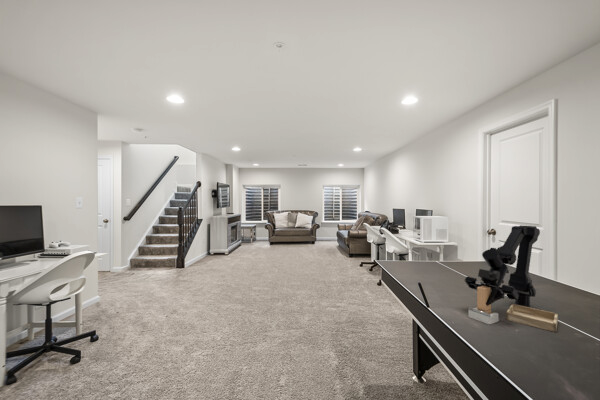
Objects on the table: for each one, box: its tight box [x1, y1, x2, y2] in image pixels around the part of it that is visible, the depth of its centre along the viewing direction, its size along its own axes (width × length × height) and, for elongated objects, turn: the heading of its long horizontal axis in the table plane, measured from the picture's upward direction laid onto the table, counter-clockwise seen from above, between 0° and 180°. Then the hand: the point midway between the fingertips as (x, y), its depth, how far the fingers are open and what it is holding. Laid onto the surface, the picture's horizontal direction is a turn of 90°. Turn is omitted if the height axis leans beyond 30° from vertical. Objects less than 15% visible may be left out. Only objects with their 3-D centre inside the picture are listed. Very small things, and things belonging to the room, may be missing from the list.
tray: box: [505, 303, 559, 333], centre depth 110 cm, size 15×15×3 cm
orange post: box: [476, 286, 492, 314], centre depth 111 cm, size 4×3×13 cm, turn 118°
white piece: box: [468, 306, 500, 325], centre depth 111 cm, size 8×8×4 cm
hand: (482, 303), depth 110 cm, fingers closed on orange post, 3 cm apart
